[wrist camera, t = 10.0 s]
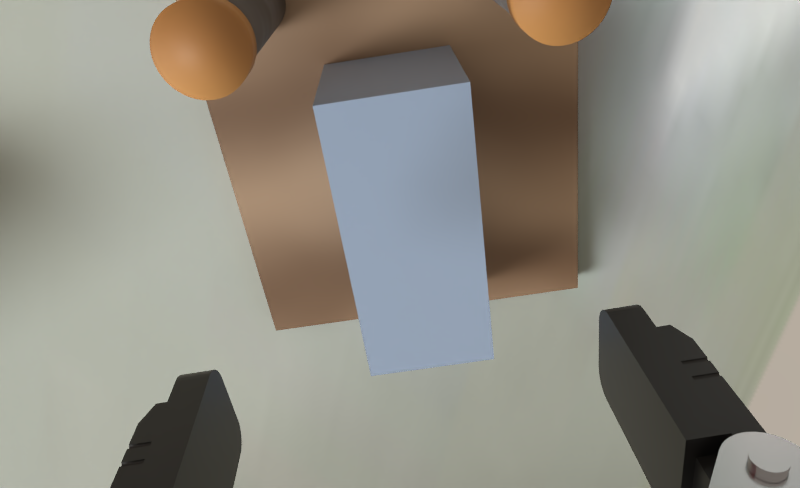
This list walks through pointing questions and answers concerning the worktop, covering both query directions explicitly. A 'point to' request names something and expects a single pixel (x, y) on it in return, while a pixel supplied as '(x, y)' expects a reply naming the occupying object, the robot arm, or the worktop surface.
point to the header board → (300, 144)
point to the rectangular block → (408, 206)
